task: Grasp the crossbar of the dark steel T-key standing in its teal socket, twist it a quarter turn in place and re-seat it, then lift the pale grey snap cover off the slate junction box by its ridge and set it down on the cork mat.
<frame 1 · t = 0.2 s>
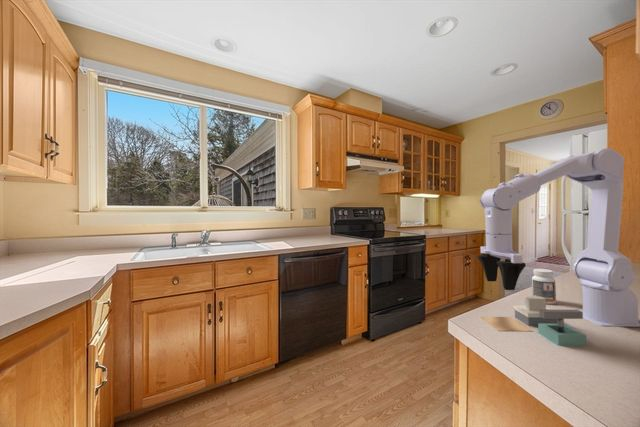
hand: (500, 285, 67), 10 cm above the countertop, fingers open, 7 cm apart
cover: (535, 313, 67), point 2 cm above the countertop, touching junction box
t key: (544, 338, 58), resting on key socket
junction box: (535, 322, 67), on the countertop
key socket: (561, 339, 58), on the countertop
pill bottle: (543, 301, 81), on the countertop
cork mat: (505, 324, 66), on the countertop
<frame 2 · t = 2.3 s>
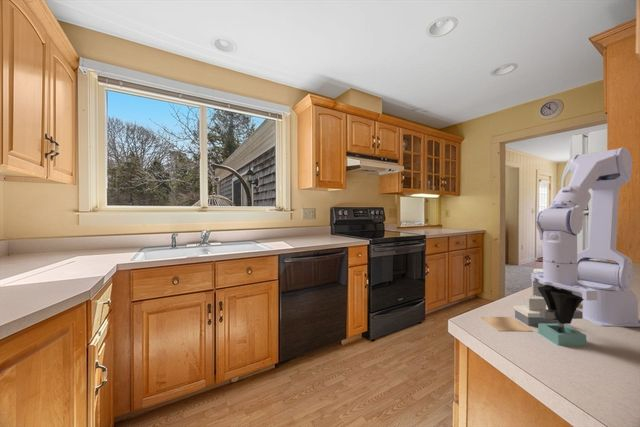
hand: (560, 321, 58), 4 cm above the countertop, fingers closed on t key
t key: (544, 338, 58), resting on key socket, touching gripper
everything else where it was.
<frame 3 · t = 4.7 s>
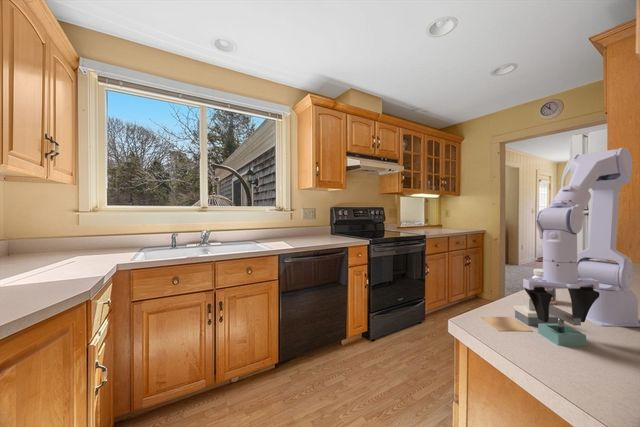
hand: (560, 320, 58), 5 cm above the countertop, fingers open, 7 cm apart
t key: (575, 347, 54), resting on key socket
everything else where it was.
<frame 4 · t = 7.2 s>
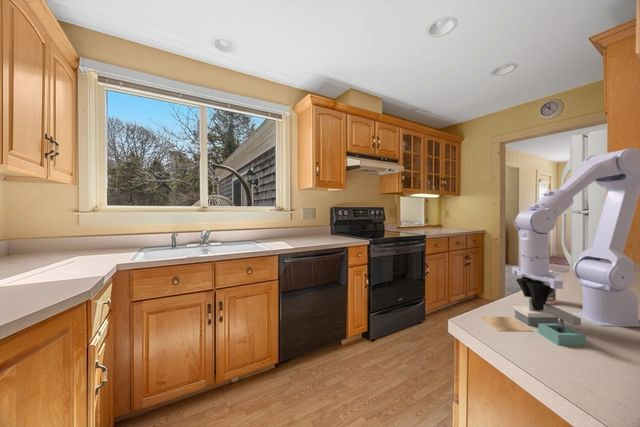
hand: (535, 308, 67), 4 cm above the countertop, fingers closed on cover
cover: (535, 313, 67), point 2 cm above the countertop, touching gripper, junction box
everything else where it was.
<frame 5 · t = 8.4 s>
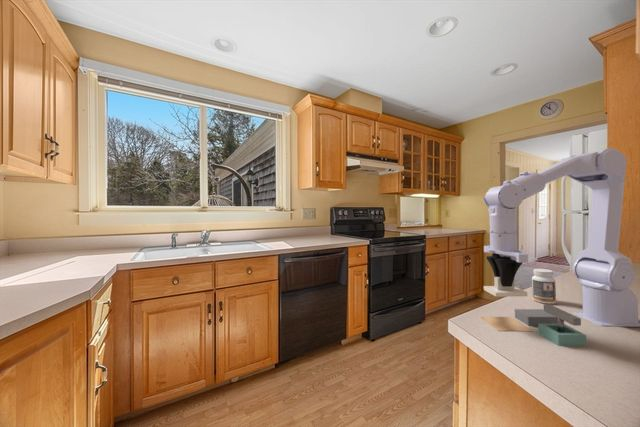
hand: (504, 284, 66), 10 cm above the countertop, fingers closed on cover
cover: (504, 292, 66), point 8 cm above the countertop, touching gripper
everything else where it was.
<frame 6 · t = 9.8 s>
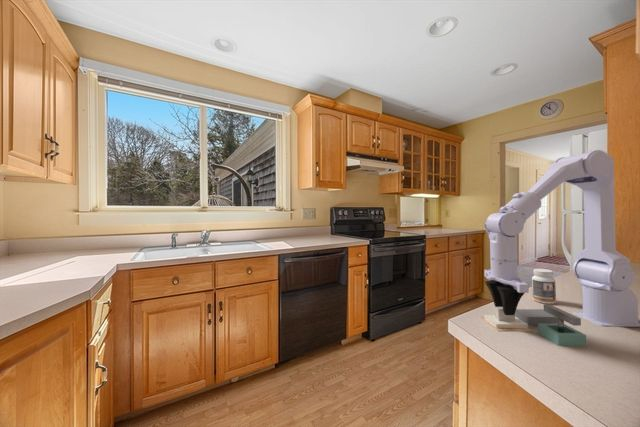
hand: (504, 311, 66), 3 cm above the countertop, fingers open, 3 cm apart
cover: (505, 323, 66), resting on cork mat
everything else where it was.
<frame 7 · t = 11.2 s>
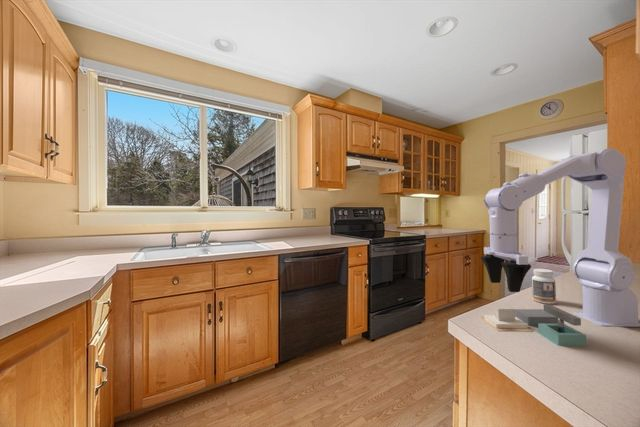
hand: (504, 286, 66), 10 cm above the countertop, fingers open, 7 cm apart
nothing on the countertop moved.
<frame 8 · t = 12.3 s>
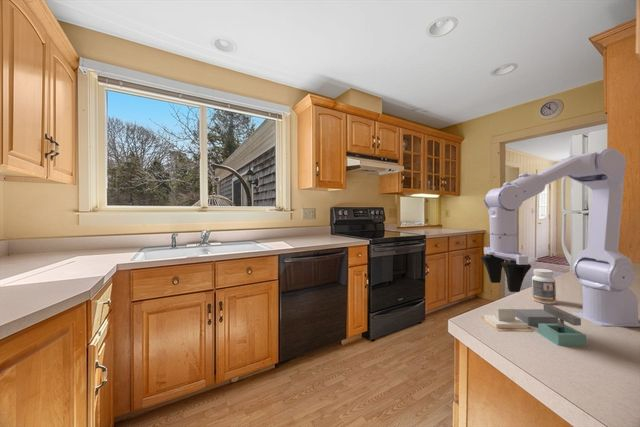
hand: (504, 286, 66), 10 cm above the countertop, fingers open, 7 cm apart
nothing on the countertop moved.
at the end: t key moved 5.0 cm from its start; t key 3.6 cm from the key socket (horizontally); cover inside the target area on the cork mat (0.0 cm from its centre), point 0.4 cm above the cork mat's base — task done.
